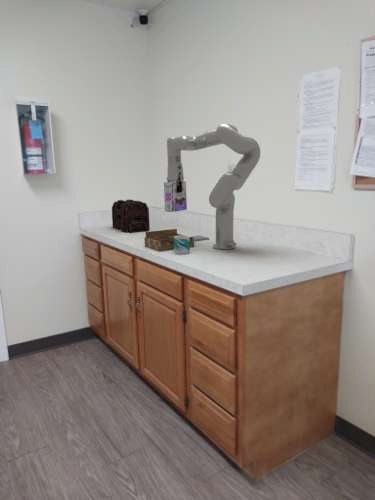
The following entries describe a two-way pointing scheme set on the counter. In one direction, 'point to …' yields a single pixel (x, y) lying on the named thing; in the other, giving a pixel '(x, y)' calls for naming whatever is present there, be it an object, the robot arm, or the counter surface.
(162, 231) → the frame
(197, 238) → the board
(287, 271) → the counter surface
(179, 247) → the mug
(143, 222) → the crate
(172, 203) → the candy box
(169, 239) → the offcut upper
